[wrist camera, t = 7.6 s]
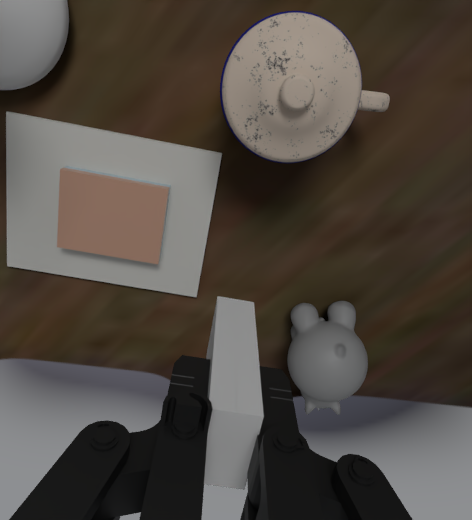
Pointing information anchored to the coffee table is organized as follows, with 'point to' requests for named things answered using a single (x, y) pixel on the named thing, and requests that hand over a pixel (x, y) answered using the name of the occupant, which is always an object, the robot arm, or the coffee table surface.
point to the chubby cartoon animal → (326, 355)
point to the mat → (112, 162)
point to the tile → (111, 214)
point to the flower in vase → (30, 40)
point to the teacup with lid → (293, 87)
